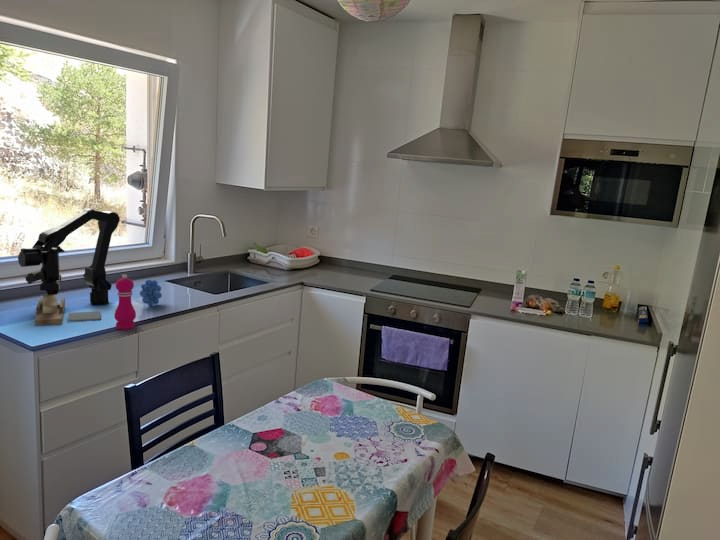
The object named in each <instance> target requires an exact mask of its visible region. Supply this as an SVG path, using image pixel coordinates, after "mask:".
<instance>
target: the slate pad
mask: <svg viewBox="0 0 720 540" xmlns="http://www.w3.org/2000/svg"><path fill="white" fill-rule="evenodd" d="M101 318H102V315H101V310H99V311H98V310H96V311H95V310H93V311H77V312H68V317H67V322H68V323H70V322H69V321H75V322H87V320H92V321H101V320H102V319H101Z"/></svg>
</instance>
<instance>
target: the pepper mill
mask: <svg viewBox="0 0 720 540" xmlns="http://www.w3.org/2000/svg"><path fill="white" fill-rule="evenodd" d="M134 284H135V283H134V281H133V280H132V279H131V278H128V275H127V274H126V273H124V274H122V275H121V278H119V279H118V280H117V281H116V283H115V288H116V290H117V296H118V304H117V307H116V308H115V309H116V310H115V311H114V317H113V318H114V319H115V321H117V322H115V328H116V329H118V330H131V329H134V328H135V326H136V325H135V324H136V323H135V321H134V320H135V319H136V317H137V314H136V309H135V308H134V306H133V303H132V296H133V289H134V286H135V285H134Z"/></svg>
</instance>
